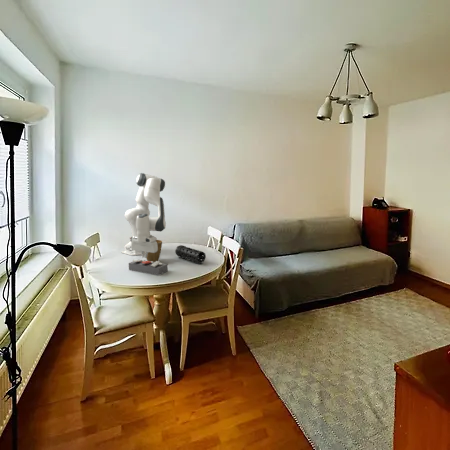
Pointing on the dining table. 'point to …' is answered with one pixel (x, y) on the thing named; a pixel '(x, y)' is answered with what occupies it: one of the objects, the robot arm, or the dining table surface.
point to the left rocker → (137, 261)
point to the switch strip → (148, 267)
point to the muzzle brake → (190, 254)
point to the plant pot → (156, 255)
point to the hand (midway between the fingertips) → (144, 257)
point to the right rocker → (155, 264)
